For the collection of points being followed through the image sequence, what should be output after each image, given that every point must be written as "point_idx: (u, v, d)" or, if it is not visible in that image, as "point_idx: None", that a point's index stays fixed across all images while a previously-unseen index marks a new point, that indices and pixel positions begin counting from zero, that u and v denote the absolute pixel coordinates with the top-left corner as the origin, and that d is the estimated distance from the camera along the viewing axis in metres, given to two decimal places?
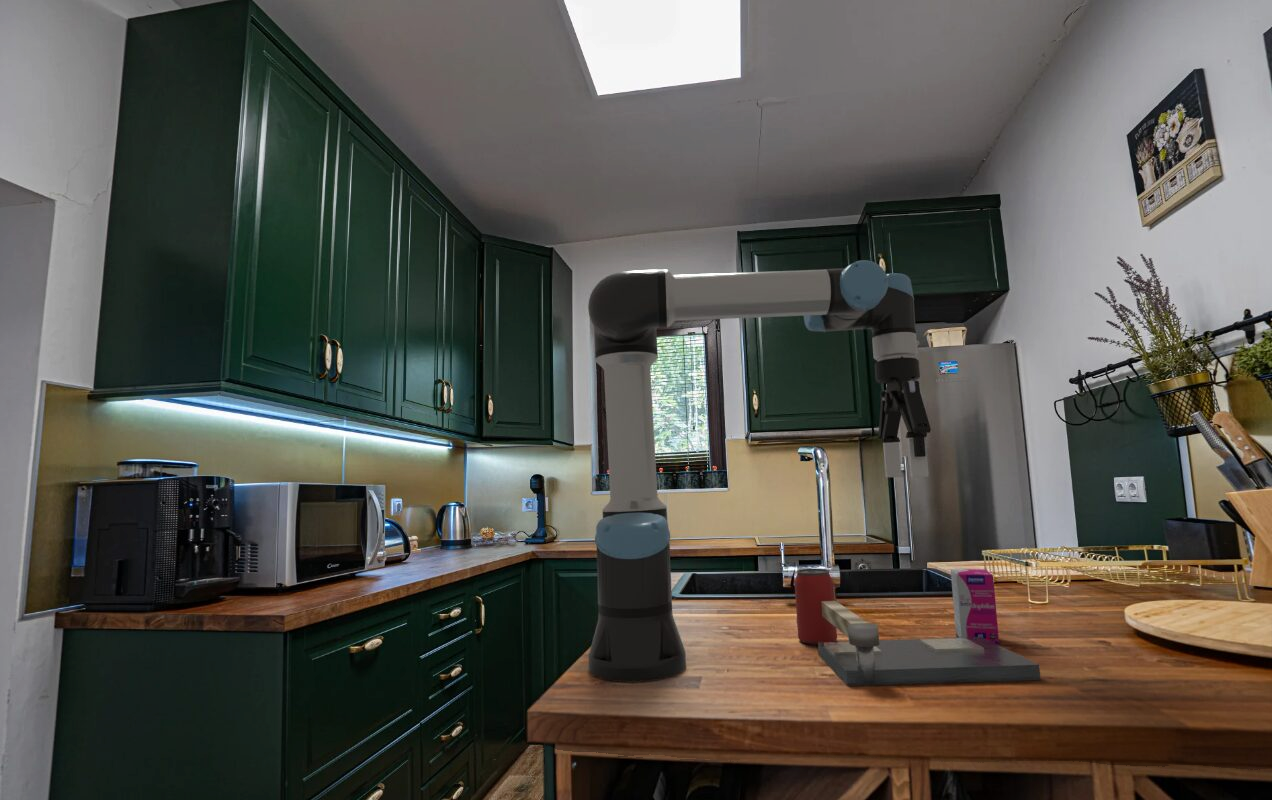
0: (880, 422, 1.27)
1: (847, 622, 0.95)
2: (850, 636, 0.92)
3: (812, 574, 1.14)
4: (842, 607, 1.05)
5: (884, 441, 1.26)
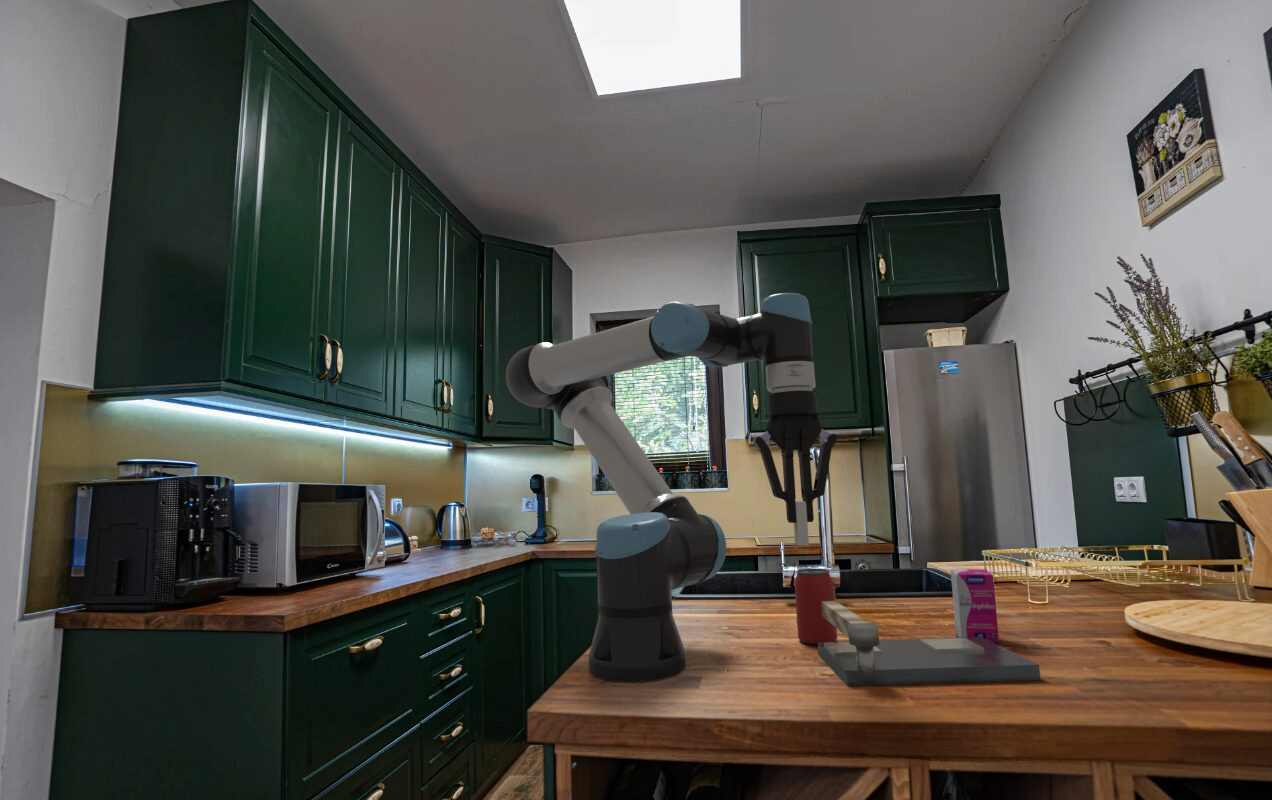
0: None
1: (847, 622, 0.95)
2: (850, 636, 0.92)
3: (812, 574, 1.14)
4: (842, 607, 1.05)
5: (802, 497, 1.03)
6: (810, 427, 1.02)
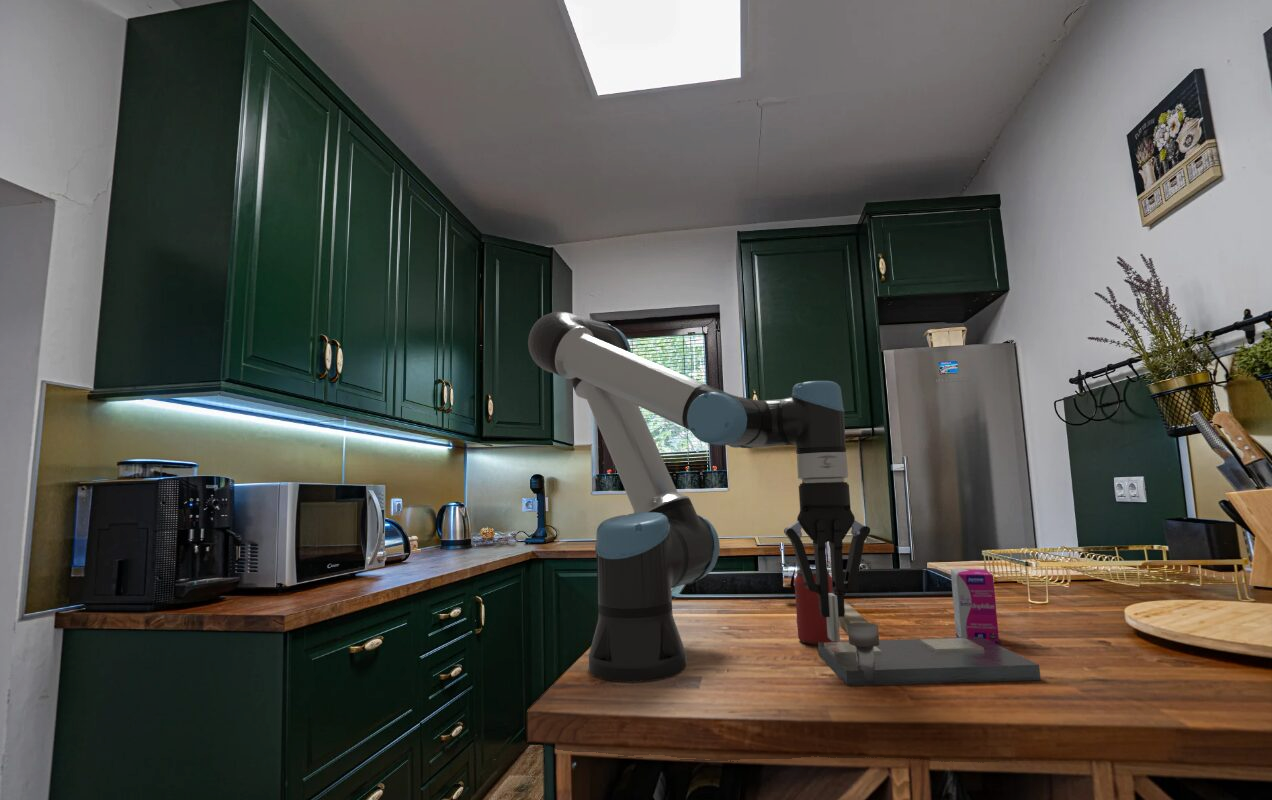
0: None
1: (849, 622, 0.95)
2: (849, 636, 0.92)
3: None
4: (849, 607, 1.05)
5: (833, 589, 1.01)
6: (842, 518, 1.01)
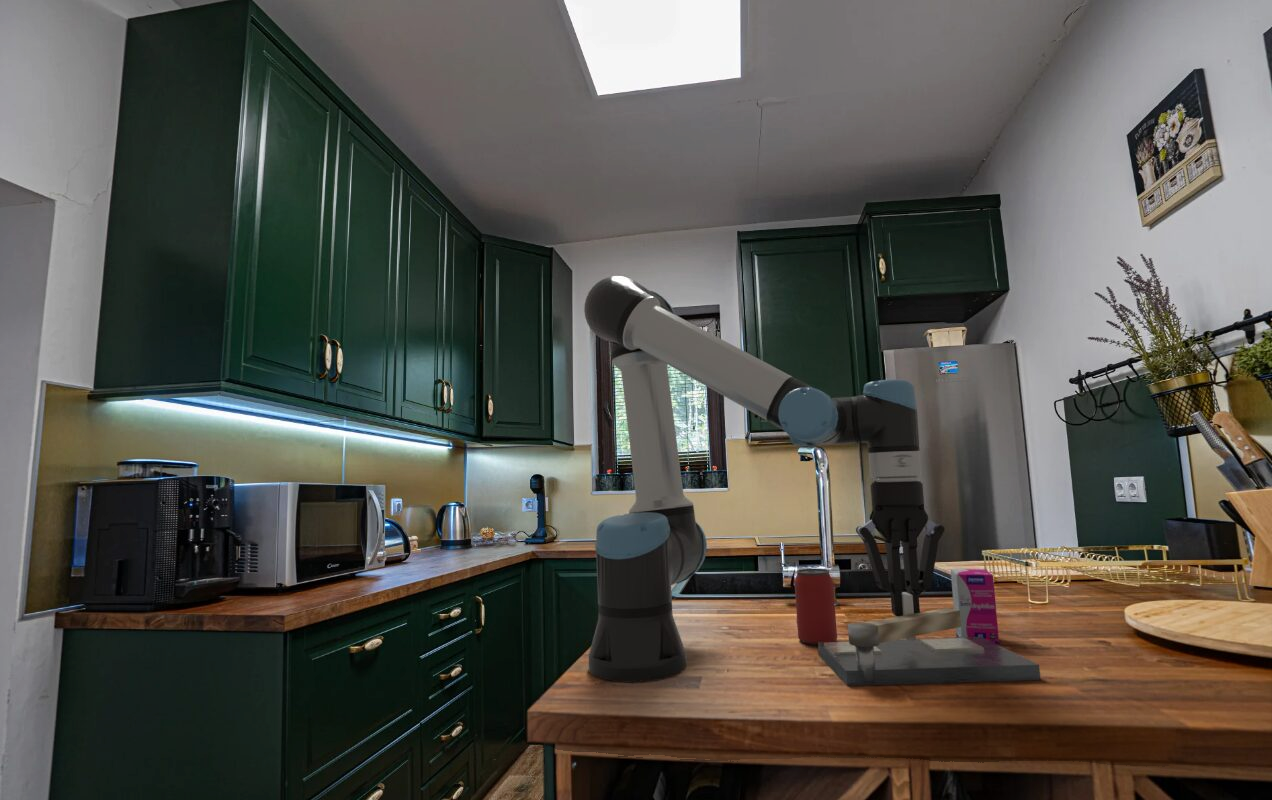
0: None
1: None
2: None
3: (812, 574, 1.14)
4: (931, 614, 0.97)
5: (906, 588, 1.01)
6: (916, 518, 1.00)
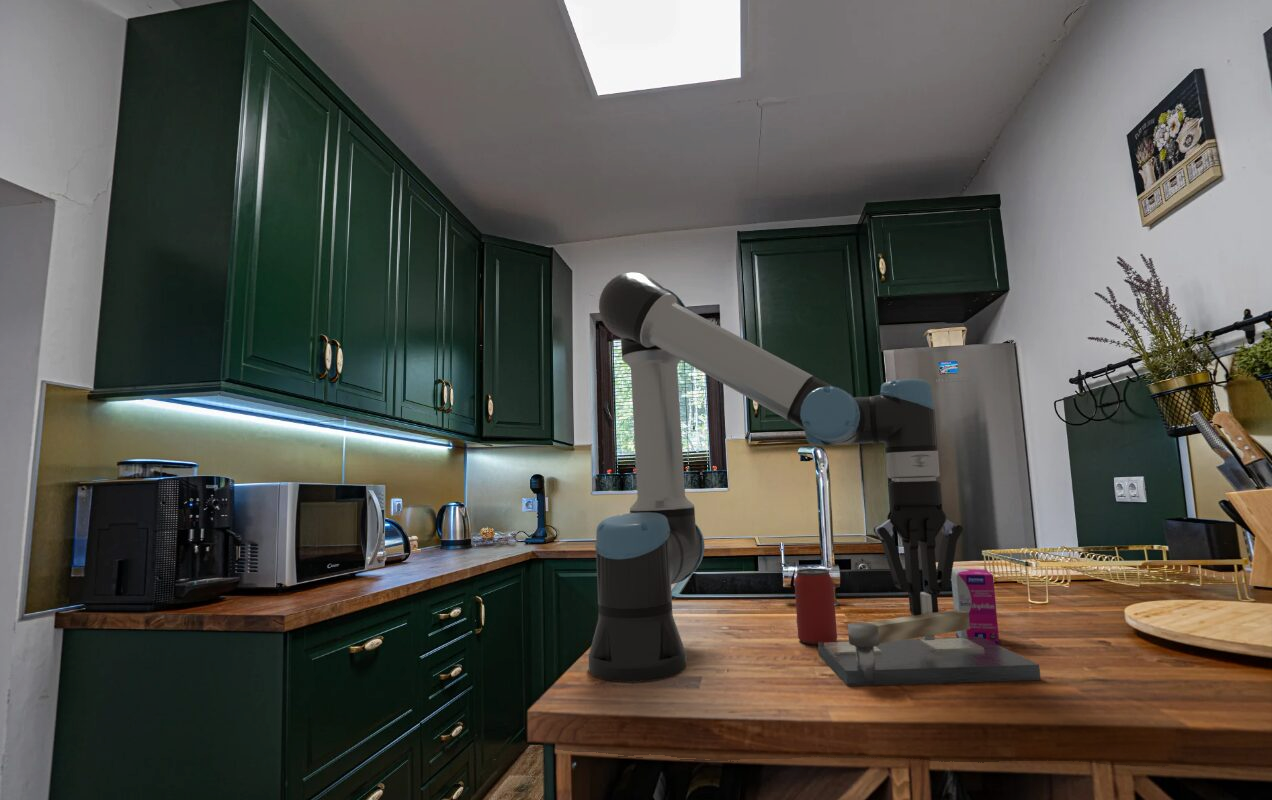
0: None
1: None
2: None
3: (812, 574, 1.14)
4: (937, 615, 0.96)
5: (924, 588, 1.01)
6: (934, 517, 1.00)
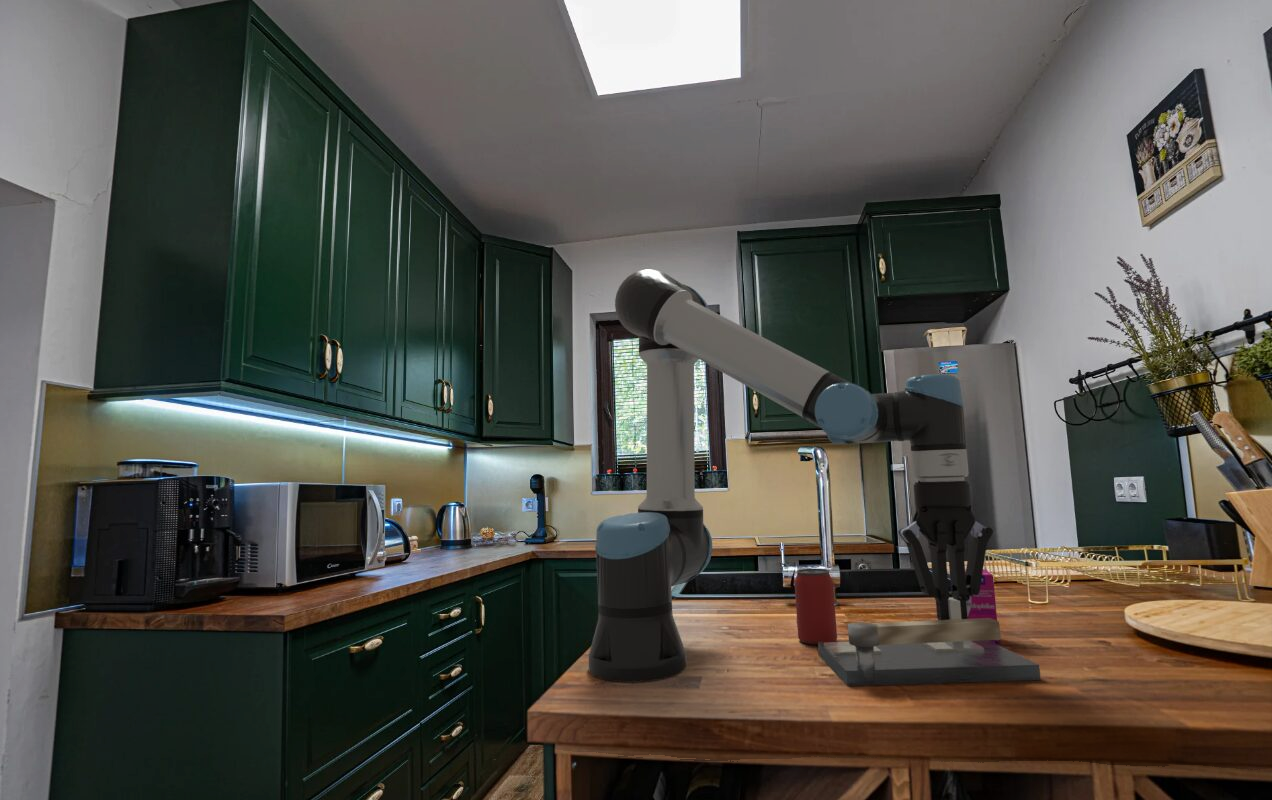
0: None
1: None
2: None
3: (812, 574, 1.14)
4: (956, 622, 0.92)
5: (952, 593, 0.96)
6: (963, 519, 0.95)
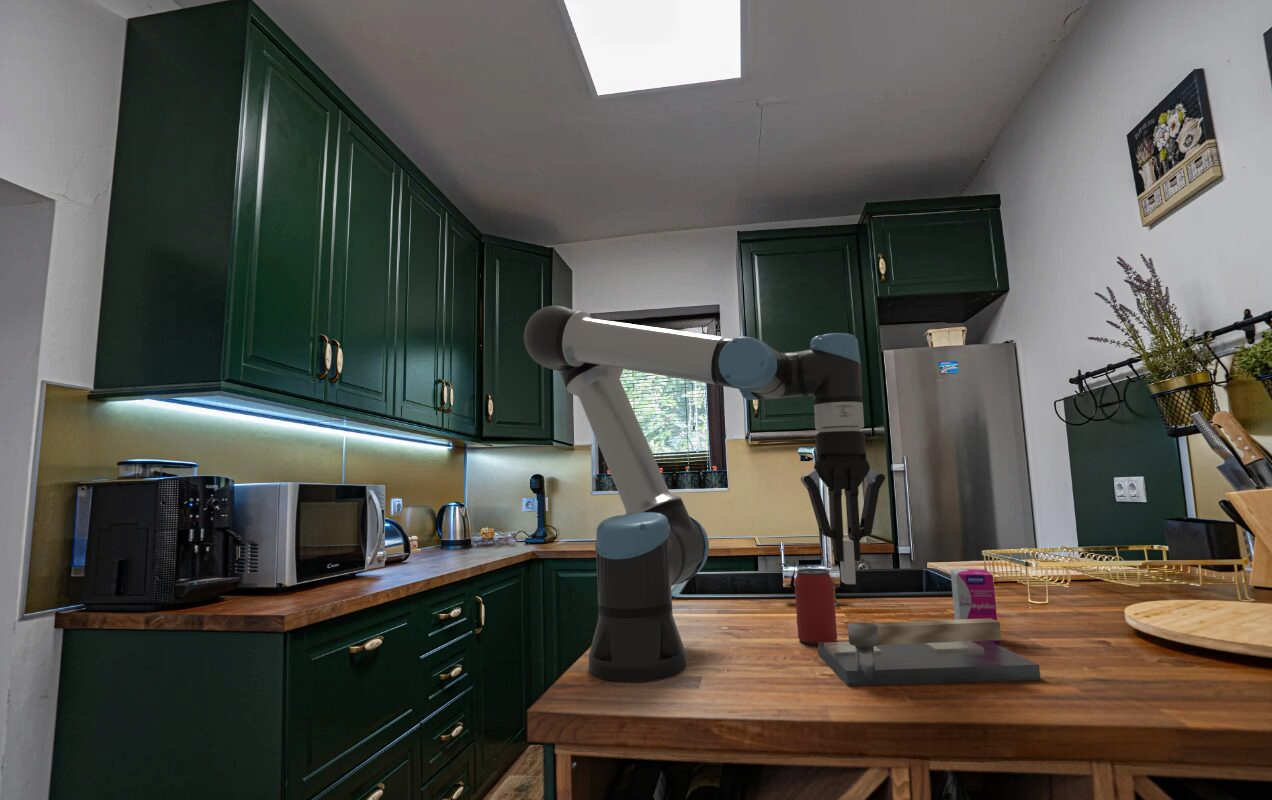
0: None
1: None
2: None
3: (812, 574, 1.14)
4: (957, 622, 0.92)
5: (848, 535, 1.05)
6: (858, 467, 1.04)
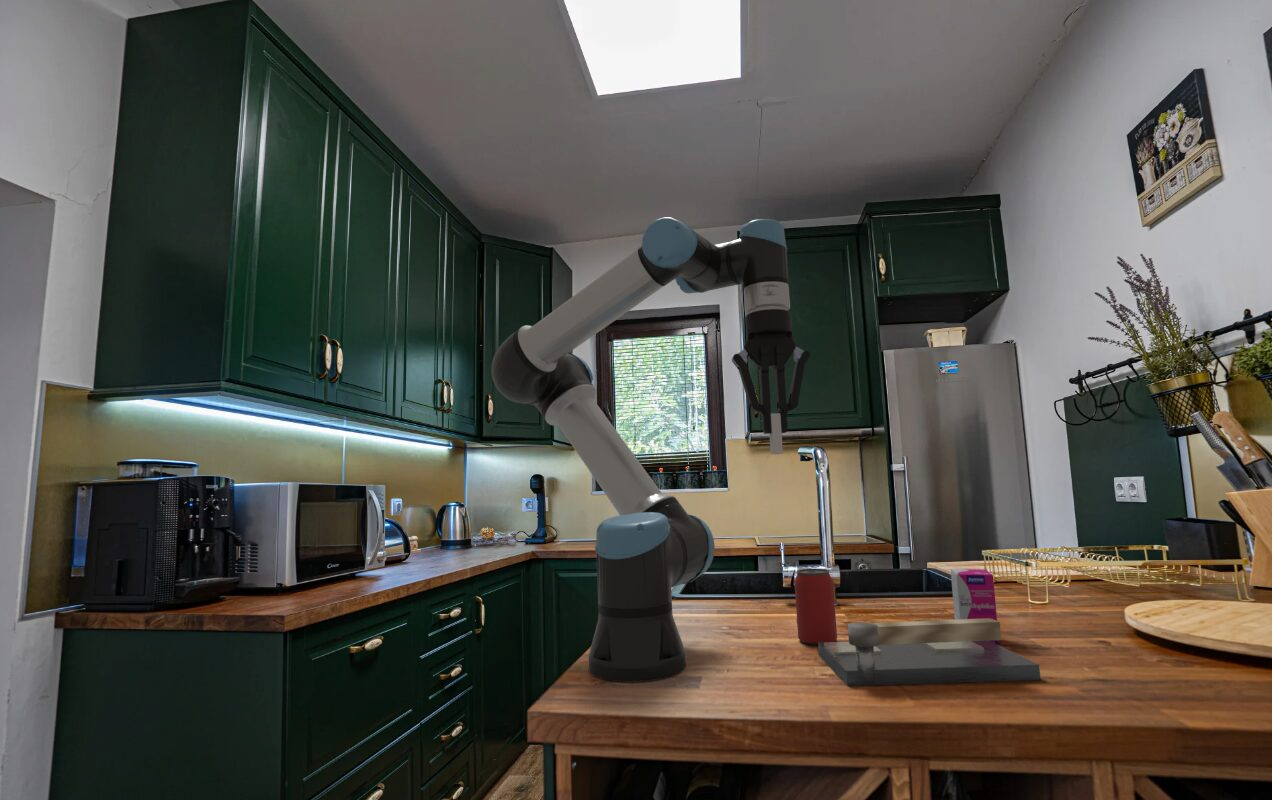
0: None
1: None
2: None
3: (812, 574, 1.14)
4: (957, 622, 0.92)
5: (777, 410, 1.10)
6: (785, 344, 1.09)
